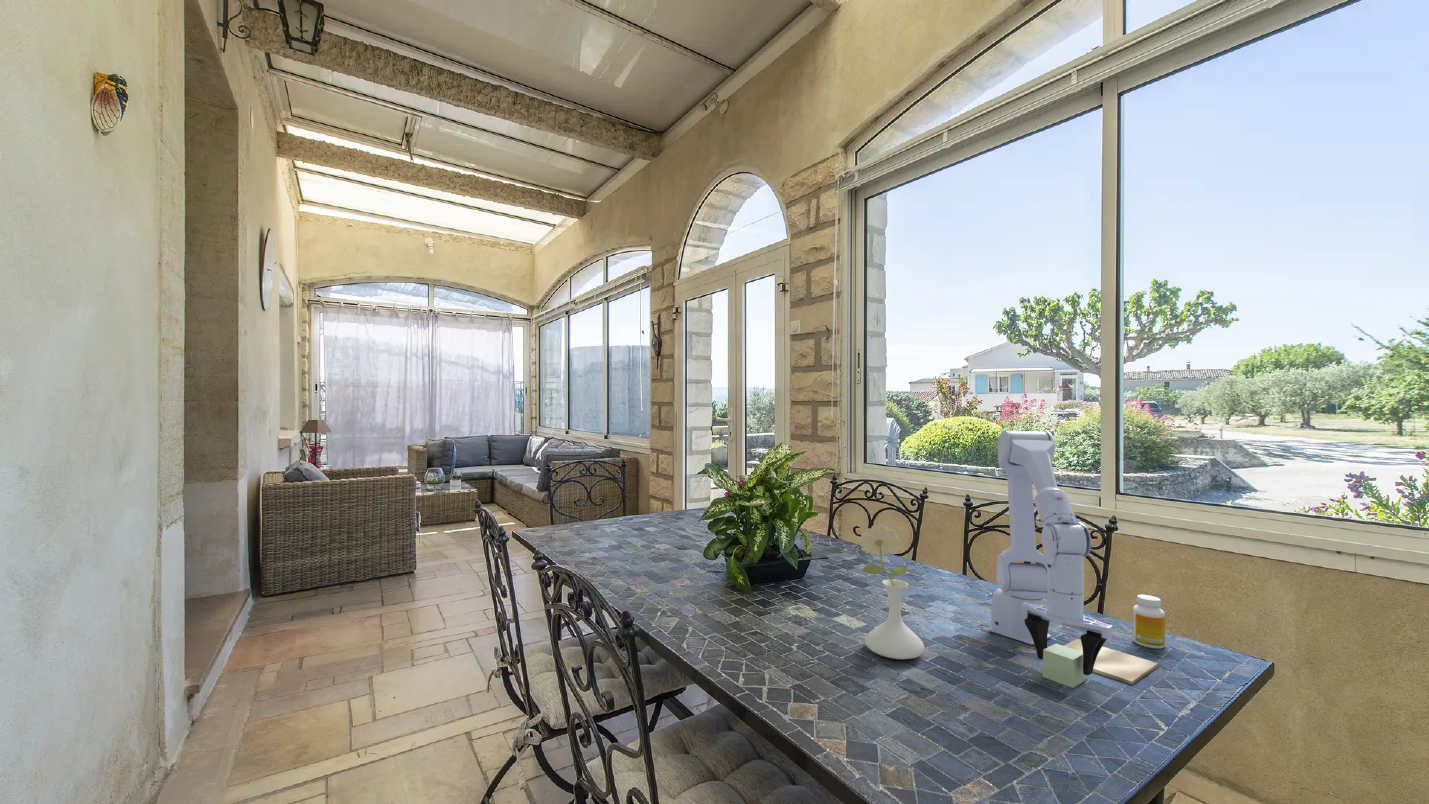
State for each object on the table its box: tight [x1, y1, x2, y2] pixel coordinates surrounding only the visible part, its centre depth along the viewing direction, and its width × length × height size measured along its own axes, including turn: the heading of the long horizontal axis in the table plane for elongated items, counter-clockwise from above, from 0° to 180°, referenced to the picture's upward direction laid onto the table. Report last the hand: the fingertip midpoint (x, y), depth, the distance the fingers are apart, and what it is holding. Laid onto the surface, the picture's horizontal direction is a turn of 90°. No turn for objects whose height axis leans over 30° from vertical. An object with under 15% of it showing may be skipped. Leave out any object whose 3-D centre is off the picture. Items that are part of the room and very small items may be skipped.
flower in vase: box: [858, 524, 926, 660], centre depth 114 cm, size 13×11×25 cm
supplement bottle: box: [1132, 594, 1166, 649], centre depth 120 cm, size 5×5×10 cm
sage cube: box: [1042, 643, 1086, 689], centre depth 104 cm, size 5×5×5 cm
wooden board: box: [1063, 638, 1159, 686], centre depth 111 cm, size 14×13×1 cm
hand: (1064, 665), depth 104 cm, fingers open, 7 cm apart
